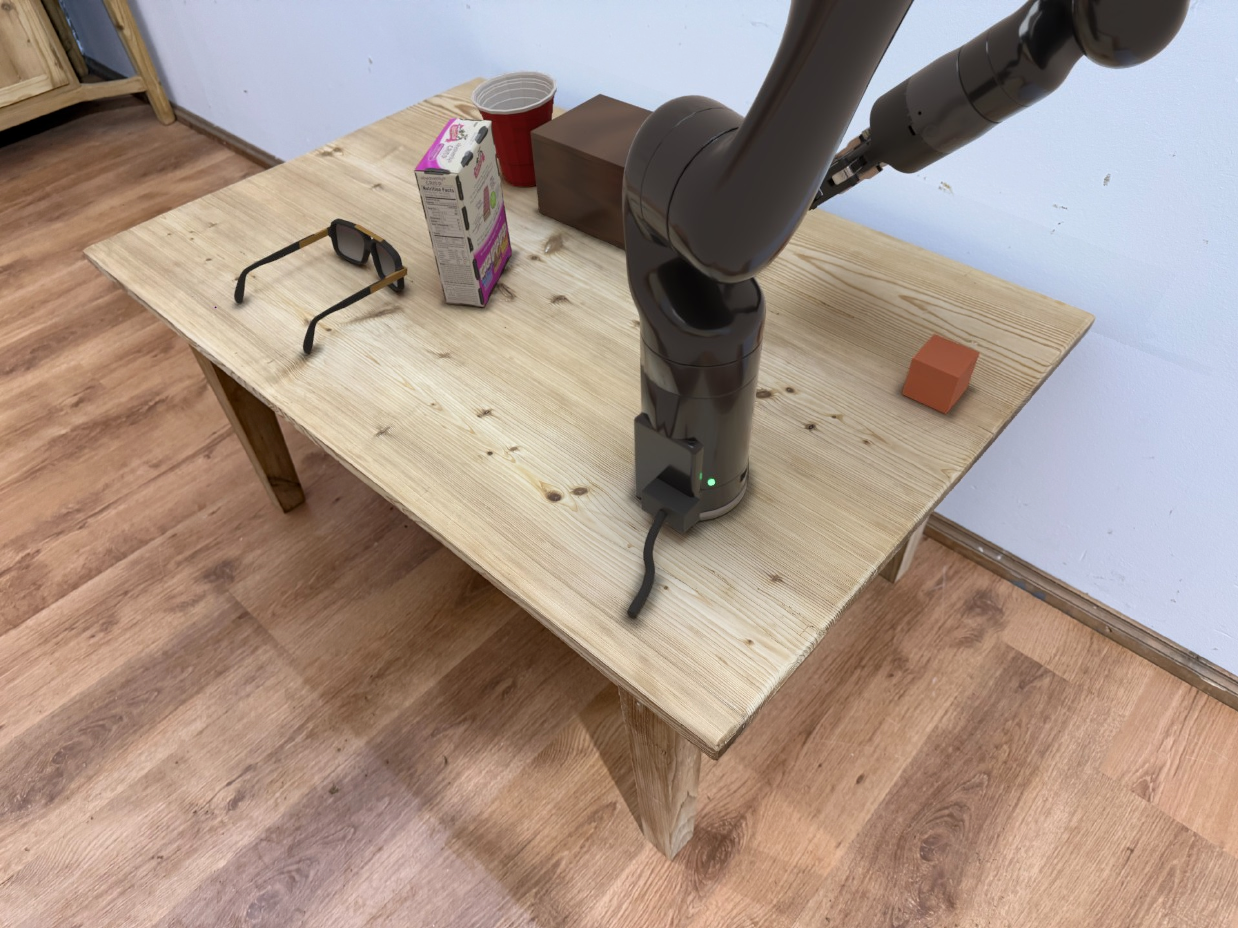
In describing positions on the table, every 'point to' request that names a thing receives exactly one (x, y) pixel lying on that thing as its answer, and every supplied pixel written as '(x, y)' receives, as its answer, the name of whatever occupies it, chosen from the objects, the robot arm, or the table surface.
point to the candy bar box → (465, 210)
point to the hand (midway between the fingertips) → (805, 191)
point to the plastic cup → (516, 118)
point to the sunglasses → (353, 248)
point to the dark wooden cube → (586, 165)
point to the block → (940, 373)
